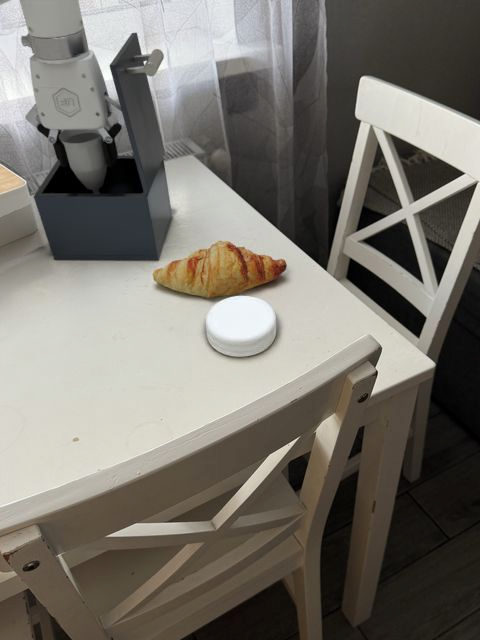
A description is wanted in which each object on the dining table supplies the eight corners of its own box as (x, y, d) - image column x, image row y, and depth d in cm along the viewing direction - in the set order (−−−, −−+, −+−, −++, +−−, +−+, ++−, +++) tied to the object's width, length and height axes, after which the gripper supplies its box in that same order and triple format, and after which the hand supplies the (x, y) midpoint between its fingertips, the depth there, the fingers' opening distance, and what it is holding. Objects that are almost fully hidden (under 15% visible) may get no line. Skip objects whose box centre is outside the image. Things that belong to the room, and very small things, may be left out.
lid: (109, 65, 79) (146, 61, 78) (131, 32, 89) (165, 29, 88) (144, 194, 91) (176, 191, 91) (160, 153, 102) (189, 150, 101)
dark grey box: (54, 260, 101) (33, 196, 93) (77, 216, 111) (60, 155, 103) (158, 260, 100) (147, 196, 92) (172, 216, 110) (163, 155, 102)
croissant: (157, 313, 95) (147, 293, 88) (154, 257, 98) (145, 233, 91) (288, 301, 96) (290, 280, 88) (282, 246, 99) (283, 221, 91)
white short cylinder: (215, 309, 90) (213, 291, 88) (280, 315, 89) (280, 296, 87) (200, 355, 83) (197, 336, 81) (270, 361, 82) (270, 343, 79)
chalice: (105, 217, 109) (82, 120, 96) (134, 227, 106) (114, 128, 93) (77, 237, 104) (48, 138, 92) (106, 248, 101) (81, 147, 89)
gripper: (-11, 54, 81) (29, 174, 94) (114, 52, 80) (137, 174, 93) (9, 37, 87) (44, 153, 99) (126, 35, 86) (146, 152, 98)
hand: (89, 162), depth 96 cm, fingers closed on chalice, 6 cm apart
